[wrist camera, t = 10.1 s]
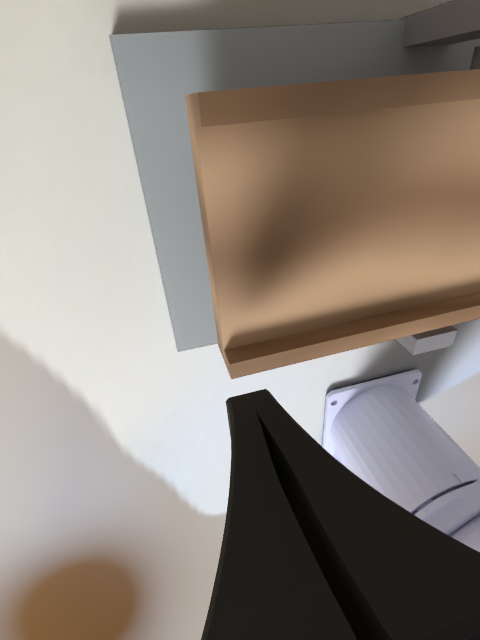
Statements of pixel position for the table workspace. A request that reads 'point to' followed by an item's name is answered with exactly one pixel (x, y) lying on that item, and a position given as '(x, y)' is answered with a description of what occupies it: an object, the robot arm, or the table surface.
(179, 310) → the pivot stand
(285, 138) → the beam
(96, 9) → the table surface
